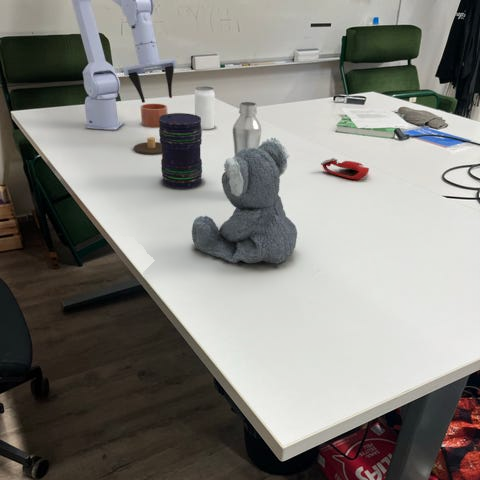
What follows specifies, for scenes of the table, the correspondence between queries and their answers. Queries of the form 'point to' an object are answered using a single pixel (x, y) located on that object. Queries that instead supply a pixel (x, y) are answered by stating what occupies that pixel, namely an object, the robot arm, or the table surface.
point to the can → (205, 106)
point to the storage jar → (181, 150)
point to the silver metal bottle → (246, 128)
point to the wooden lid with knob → (149, 147)
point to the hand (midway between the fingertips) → (157, 100)
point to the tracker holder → (348, 165)
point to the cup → (152, 114)
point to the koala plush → (251, 210)
